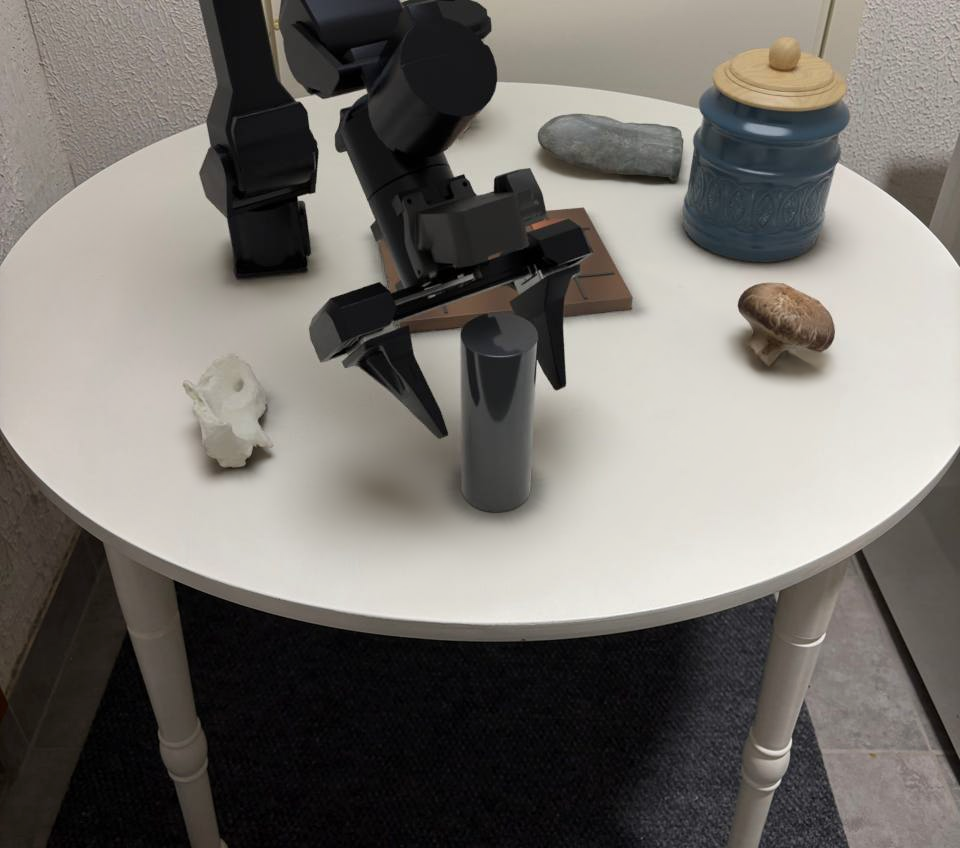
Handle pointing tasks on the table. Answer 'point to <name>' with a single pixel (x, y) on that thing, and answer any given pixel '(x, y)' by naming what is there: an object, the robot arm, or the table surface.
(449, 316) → the board
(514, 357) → the dark grey cylinder
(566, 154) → the stone
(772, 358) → the mushroom
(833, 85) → the canister
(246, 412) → the coral
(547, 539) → the table surface
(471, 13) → the coffee cup
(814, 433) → the table surface
